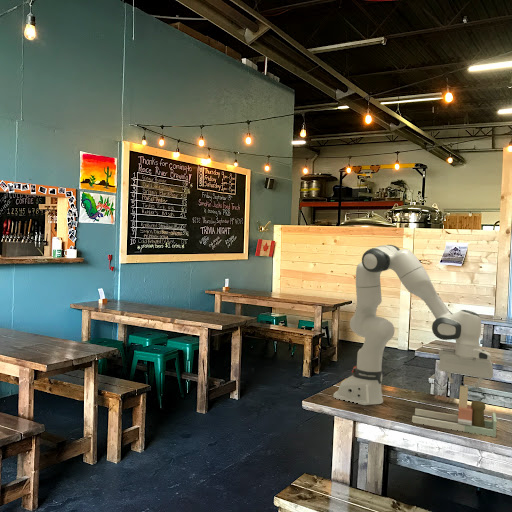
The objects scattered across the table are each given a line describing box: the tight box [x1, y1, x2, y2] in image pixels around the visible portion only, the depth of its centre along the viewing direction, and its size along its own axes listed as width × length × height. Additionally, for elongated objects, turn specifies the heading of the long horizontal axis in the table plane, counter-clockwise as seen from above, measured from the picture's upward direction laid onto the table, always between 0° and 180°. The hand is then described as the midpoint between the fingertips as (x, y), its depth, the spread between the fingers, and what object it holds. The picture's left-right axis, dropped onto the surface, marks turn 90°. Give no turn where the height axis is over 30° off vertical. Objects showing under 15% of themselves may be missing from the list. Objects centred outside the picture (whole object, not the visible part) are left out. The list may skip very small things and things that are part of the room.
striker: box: [457, 385, 472, 426], centre depth 199 cm, size 5×13×16 cm, turn 157°
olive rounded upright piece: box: [470, 400, 487, 428], centre depth 197 cm, size 6×6×11 cm
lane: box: [411, 407, 498, 438], centre depth 201 cm, size 30×12×6 cm, turn 67°
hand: (463, 385), depth 200 cm, fingers open, 8 cm apart
